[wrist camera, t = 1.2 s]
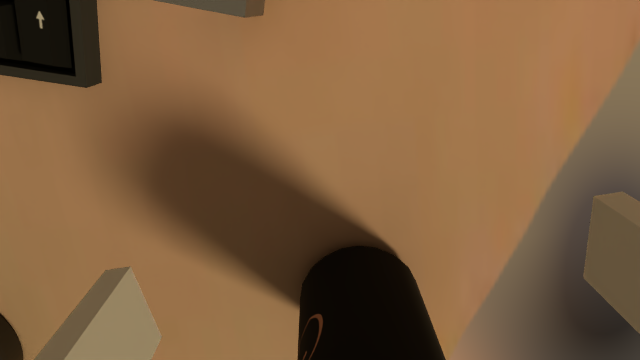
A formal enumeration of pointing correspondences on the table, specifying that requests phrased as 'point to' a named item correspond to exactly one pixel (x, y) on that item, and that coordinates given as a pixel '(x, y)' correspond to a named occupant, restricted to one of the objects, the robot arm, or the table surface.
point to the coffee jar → (364, 310)
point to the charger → (225, 6)
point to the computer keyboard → (50, 41)
